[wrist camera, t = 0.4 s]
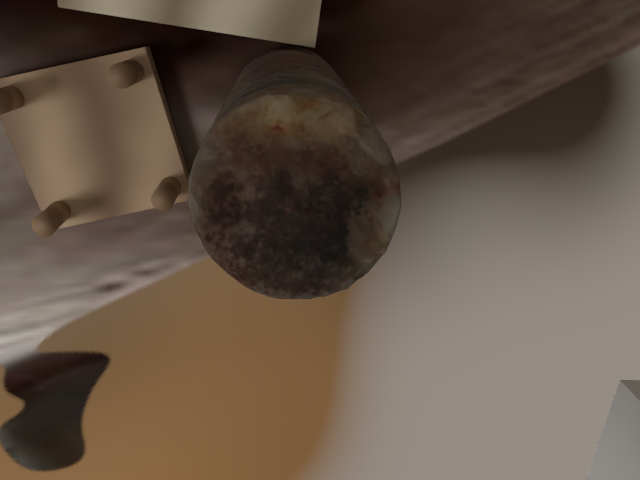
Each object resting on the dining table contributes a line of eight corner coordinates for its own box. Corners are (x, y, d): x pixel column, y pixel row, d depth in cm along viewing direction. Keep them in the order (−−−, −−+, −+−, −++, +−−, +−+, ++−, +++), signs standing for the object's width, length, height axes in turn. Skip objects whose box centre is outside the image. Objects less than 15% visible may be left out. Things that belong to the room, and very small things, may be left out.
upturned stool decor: (56, 224, 37) (32, 247, 34) (-7, 79, 33) (-41, 87, 30) (195, 194, 37) (186, 213, 34) (149, 45, 33) (133, 49, 30)
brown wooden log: (259, 176, 37) (246, 334, 19) (209, 76, 34) (136, 147, 16) (359, 131, 36) (448, 249, 18) (317, 25, 34) (371, 38, 15)
